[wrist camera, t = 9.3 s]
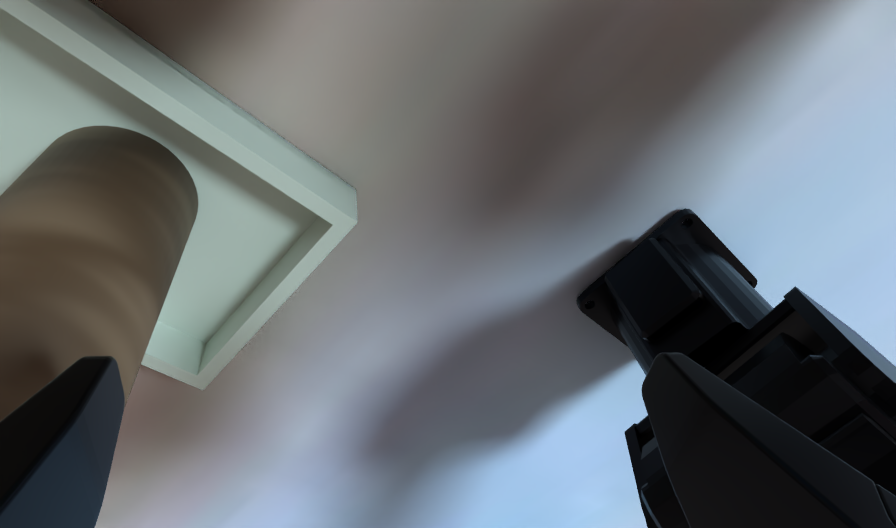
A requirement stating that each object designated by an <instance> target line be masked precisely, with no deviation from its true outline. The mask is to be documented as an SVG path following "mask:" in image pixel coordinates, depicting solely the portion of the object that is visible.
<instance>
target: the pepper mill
mask: <svg viewBox="0 0 896 528" xmlns="http://www.w3.org/2000/svg"><path fill="white" fill-rule="evenodd" d="M197 212H198V194H197V190H196V186H195V184H194V181H193V179H192V177H191V175H190V173H189V171H188V170H187V169H186V167H185V166H184V165H183V163H182V162H181V161H180V160H179V159H178V158H177V157H176V156H175V155H174V154H173V153H172V152H171V151H170V150H169V149H167V148H166V147H164V146H163V145H162V144H160V143H159V142H157V141H155V140H153V139H152V138H150V137H148V136H146V135H143V134H141V133H139V132H136V131H132V130H129V129H125V128H121V127H115V126H88V127H82V128H79V129H75V130H72V131H70V132H68V133H65V134H64V135H62V136H61V137H59V138H57V139H56V140H55V141H54V142H53V143H52V144H51V145H50V146H49V147H48V148H47V149H46V150H45V151H44V152H43V153H42V154H41V155H40V156H39V157H38V158H37V159H36V160H35V161H34V162H33V163H32V164H31V165H30V166H29V167H28V168H27V169H26V170H25V171H24V172H23V173H22V174H21V175H20V176H19V177H18V178H17V179H16V180H15V181H14V182H13V183H12V184H11V185H10V186H9V187H8V188H7V189H6V191H5V192H4V193H3V194H2V195H1V196H0V421H1V420H2V419H4V418H5V417H6V416H7V415H9V414H10V413H11V412H12V411H14V410H15V409H16V408H17V407H19V406H20V405H21V404H23V403H24V402H25V401H26V400H28V399H29V398H30V397H31V396H33V395H34V394H35V393H36V392H38V391H39V390H40V389H42V388H43V387H44V386H45V385H47V384H48V383H49V382H50V381H52V380H53V379H54V378H55V377H57V376H58V375H59V374H61V373H62V372H63V371H64V370H66V369H67V368H68V367H69V366H71V365H72V364H73V363H75V362H76V361H77V360H78V359H80V358H82V357H85V356H112V357H114V358H115V359H116V361H117V364H118V368H119V372H120V377H121V381H122V385H123V390H124V395H125V405H126V402H127V399H128V397H129V394H130V392H131V389H132V386H133V384H134V381H135V378H136V376H137V373H138V370H139V368H140V365H141V362H142V360H143V357H144V354H145V352H146V349H147V347H148V344H149V341H150V339H151V336H152V333H153V331H154V328H155V325H156V323H157V320H158V317H159V315H160V312H161V309H162V307H163V304H164V302H165V299H166V296H167V294H168V291H169V288H170V286H171V283H172V280H173V278H174V275H175V272H176V270H177V267H178V265H179V262H180V259H181V257H182V254H183V251H184V249H185V246H186V243H187V241H188V238H189V235H190V233H191V230H192V227H193V225H194V222H195V220H196V216H197ZM125 405H124V407H125Z"/></svg>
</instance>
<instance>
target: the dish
mask: <svg viewBox="0 0 896 528" xmlns="http://www.w3.org/2000/svg"><path fill="white" fill-rule="evenodd" d="M88 126H115V127H121V128H125V129H129V130H132V131H136V132H139V133H141V134H143V135H146V136H148V137H150V138H152V139H153V140H155V141H157V142H159V143H160V144H162V145H163V146H164V147H166V148H167V149H169V150H170V151H171V152H172V153H173V154H174V155H175V156H176V157H177V158H178V159H179V160H180V161H181V162H182V163H183V165H184V166H185V167H186V169H187V170H188V171H189V173H190V175H191V177H192V179H193V181H194V184H195V186H196V190H197V194H198V212H197V216H196V220H195V222H194V225H193V227H192V230H191V233H190V235H189V238H188V241H187V243H186V246H185V249H184V251H183V254H182V257H181V259H180V262H179V265H178V267H177V270H176V272H175V275H174V278H173V280H172V283H171V286H170V288H169V291H168V294H167V296H166V299H165V302H164V304H163V307H162V309H161V312H160V315H159V317H158V320H157V323H156V325H155V328H154V331H153V333H152V336H151V339H150V341H149V344H148V347H147V349H146V352H145V354H144V357H143V360H142V362H141V364H142V365H144V366H146V367H149V368H151V369H153V370H156V371H158V372H160V373H163V374H165V375H168V376H170V377H172V378H175V379H177V380H179V381H182V382H184V383H186V384H189V385H191V386H193V387H196V388H198V389H200V390H204V389H205V388H206V387H207V386H208V385H209V384H210V383H211V381H212V380H213V379H214V378H215V377H216V376H217V375H218V374H219V373H220V372H221V371H222V369H223V368H224V367H225V366H226V365H227V364H228V363H229V362H230V361H231V360H232V359H233V357H234V356H235V355H236V354H237V353H238V352H239V351H240V350H241V349H242V348H243V347H244V346H245V344H246V343H247V342H248V341H249V340H250V339H251V338H252V337H253V336H254V335H255V334H256V332H257V331H258V330H259V329H260V328H261V327H262V326H263V325H264V324H265V323H266V322H267V320H268V319H269V318H270V317H271V316H272V315H273V314H274V313H275V312H276V311H277V310H278V309H279V307H280V306H281V305H282V304H283V303H284V302H285V301H286V300H287V299H288V298H289V297H290V295H291V294H292V293H293V292H294V291H295V290H296V289H297V288H298V287H299V286H300V285H301V283H302V282H303V281H304V280H305V279H306V278H307V277H308V276H309V275H310V274H311V273H312V271H313V270H314V269H315V268H316V267H317V266H318V265H319V264H320V263H321V262H322V261H323V260H324V258H325V257H326V256H327V255H328V254H329V253H330V252H331V251H332V250H333V249H334V248H335V246H336V245H337V244H338V243H339V242H340V241H341V240H342V239H343V238H344V237H345V236H346V234H347V233H348V232H349V231H350V230H351V229H352V228H353V227H354V226H355V225H356V224H357V223H358V221H357V200H356V189H355V188H353V187H352V186H350V185H349V184H348V183H346V182H345V181H343V180H342V179H340V178H339V177H338V176H336V175H335V174H333V173H332V172H331V171H329V170H328V169H326V168H325V167H323V166H322V165H321V164H319V163H318V162H316V161H315V160H314V159H312V158H311V157H309V156H308V155H306V154H305V153H304V152H302V151H301V150H299V149H298V148H297V147H295V146H294V145H292V144H291V143H290V142H288V141H287V140H285V139H284V138H282V137H281V136H280V135H278V134H277V133H275V132H274V131H273V130H271V129H270V128H268V127H267V126H265V125H264V124H263V123H261V122H260V121H258V120H257V119H256V118H254V117H253V116H251V115H250V114H248V113H247V112H246V111H244V110H243V109H241V108H240V107H239V106H237V105H236V104H234V103H233V102H232V101H230V100H229V99H227V98H226V97H224V96H223V95H222V94H220V93H219V92H217V91H216V90H215V89H213V88H212V87H210V86H209V85H207V84H206V83H205V82H203V81H202V80H200V79H199V78H198V77H196V76H195V75H193V74H192V73H190V72H189V71H188V70H186V69H185V68H183V67H182V66H181V65H179V64H178V63H176V62H175V61H173V60H172V59H171V58H169V57H168V56H166V55H165V54H164V53H162V52H161V51H159V50H158V49H157V48H155V47H154V46H152V45H151V44H149V43H148V42H147V41H145V40H144V39H142V38H141V37H140V36H138V35H137V34H135V33H134V32H132V31H131V30H130V29H128V28H127V27H125V26H124V25H123V24H121V23H120V22H118V21H117V20H115V19H114V18H113V17H111V16H110V15H108V14H107V13H106V12H104V11H103V10H101V9H100V8H99V7H97V6H96V5H94V4H93V3H91V2H90V1H89V0H0V196H1V195H2V194H3V193H4V192H5V191H6V189H7V188H8V187H9V186H10V185H11V184H12V183H13V182H14V181H15V180H16V179H17V178H18V177H19V176H20V175H21V174H22V173H23V172H24V171H25V170H26V169H27V168H28V167H29V166H30V165H31V164H32V163H33V162H34V161H35V160H36V159H37V158H38V157H39V156H40V155H41V154H42V153H43V152H44V151H45V150H46V149H47V148H48V147H49V146H50V145H51V144H52V143H53V142H54V141H55V140H56V139H57V138H59V137H61V136H62V135H64V134H65V133H68V132H70V131H72V130H75V129H79V128H82V127H88Z"/></svg>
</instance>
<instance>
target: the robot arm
mask: <svg viewBox="0 0 896 528" xmlns="http://www.w3.org/2000/svg"><path fill="white" fill-rule="evenodd" d="M686 219H688V220H687V221H686V222H685V223H683V224H682V222H683V221H684V220H686ZM756 285H757V279H756V278H755V277H754V276H753V275H752V274H751V273H750V272H749V270H748V269H747V268H746V267H745V266H744V265H743V264H742V263H741V262H740V261H739V260H738V259H737V258H736V257H735V256H734V255H733V253H732V252H731V251H730V250H729V249H728V248H727V247H726V246H725V245H724V244H723V243H722V242H721V241H720V240H719V239H718V237H717V236H716V235H715V234H714V233H713V232H712V231H711V230H710V229H709V228H708V227H707V226H706V225H705V224H704V223H703V222H702V220H701V219H700V218H699V217H698V216H697V215H696V214H695V213H694V212H693V211H691V210H690V209H683V210H680V211H679V212H677V213H676V214H675V215H673V216H672V217H671V218H670V219H669V220H668V221H666V222H665V223H664V224H663V225H662V226H660V227H659V228H658V229H657V230H656V231H655V232H653V233H652V234H651V235H650V236H649V237H648V238H646V239H645V240H644V241H643V242H642V243H640V244H639V245H638V246H637V247H636V248H635V249H633V250H632V251H631V252H630V253H629V254H627V255H626V256H625V257H624V258H623V259H622V260H620V261H619V262H618V263H617V264H616V265H615V266H613V267H612V268H611V269H610V270H609V271H607V272H606V273H605V274H604V275H603V276H602V277H600V278H599V279H598V280H597V281H596V282H594V283H593V284H592V285H591V286H590V287H589V288H587V289H586V290H585V291H584V292H583V293H582V294H580V296H579V297H578V298H577V305H578V307H579V309H580V310H581V311H582V312H583V313H584V314H586V315H587V316H588V317H589V318H591V319H592V320H593V321H595V322H596V323H597V324H599V325H600V326H601V327H603V328H604V329H605V330H607V331H608V332H609V333H611V334H612V335H613V336H614V337H616V338H617V339H618V340H620V341H621V342H622V343H624V344H625V345H626V346H628V347H629V348H630V350H631V351H632V353H633V355H634V356H635V358H636V360H637V361H638V363H639V365H640V366H641V368H642V370H643V371H644V373H645V375H646V377H645V380H644V382H643V385H642V397H643V400H644V403H645V407H646V410H647V413H648V415H647V416H646V417H645V418H644V419H643V420H642V421H640V422H639V423H638V424H633V425H632V426H631V427H630V428H629V429H627V430H626V431H625V437H626V441H627V445H628V450H629V454H630V458H631V463H632V467H633V472H634V476H635V480H636V485H637V489H638V493H639V498H640V502H641V507H642V510H643V513H644V516H645V519H646V523H647V527H648V528H896V367H895V366H894V365H893V364H892V363H891V362H890V361H889V360H887V359H886V358H885V357H884V356H883V355H882V354H881V353H879V352H878V351H877V350H876V349H875V348H874V347H873V346H871V345H870V344H869V343H868V342H867V341H866V340H864V339H863V338H862V337H861V336H860V335H859V334H858V333H856V332H855V331H854V330H852V329H851V328H850V327H848V326H847V325H846V324H844V323H843V322H842V321H840V320H839V319H838V318H836V317H835V316H834V315H833V314H831V313H830V312H829V311H827V310H826V309H825V308H823V307H822V306H821V305H819V304H818V303H817V302H815V301H814V300H813V299H811V298H810V297H809V296H807V295H806V294H805V293H803V292H802V291H801V290H799V289H798V288H797V287H794V288H793V289H792V290H791V291H789V292H788V293H787V294H786V295H785V296H784V298H785V299H784V300H783V301H782V302H781V303H779V304H778V305H777V306H776V307H775V308H773V307H772V306H771V305H770V304H769V303H768V302H767V301H766V300H765V299H764V298H763V297H762V296H761V295H760V294H759V293H758V292H757V291H756V290H755V289H754V288H755V287H756ZM591 300H592V301H591ZM588 301H591V302H590V303H588V304H586V302H588ZM124 405H125V395H124V390H123V385H122V381H121V377H120V372H119V368H118V364H117V361H116V359H115V358H114V357H112V356H85V357H82V358H80V359H78V360H77V361H76V362H75V363H73V364H72V365H71V366H69V367H68V368H67V369H66V370H64V371H63V372H62V373H61V374H59V375H58V376H57V377H55V378H54V379H53V380H52V381H50V382H49V383H48V384H47V385H45V386H44V387H43V388H42V389H40V390H39V391H38V392H36V393H35V394H34V395H33V396H31V397H30V398H29V399H28V400H26V401H25V402H24V403H23V404H21V405H20V406H19V407H17V408H16V409H15V410H14V411H12V412H11V413H10V414H9V415H7V416H6V417H5V418H4V419H2V420H1V421H0V528H94V527H95V525H96V522H97V519H98V516H99V512H100V509H101V506H102V502H103V498H104V495H105V491H106V486H107V482H108V477H109V473H110V469H111V464H112V460H113V455H114V451H115V447H116V442H117V438H118V433H119V429H120V425H121V420H122V416H123V411H124Z"/></svg>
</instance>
